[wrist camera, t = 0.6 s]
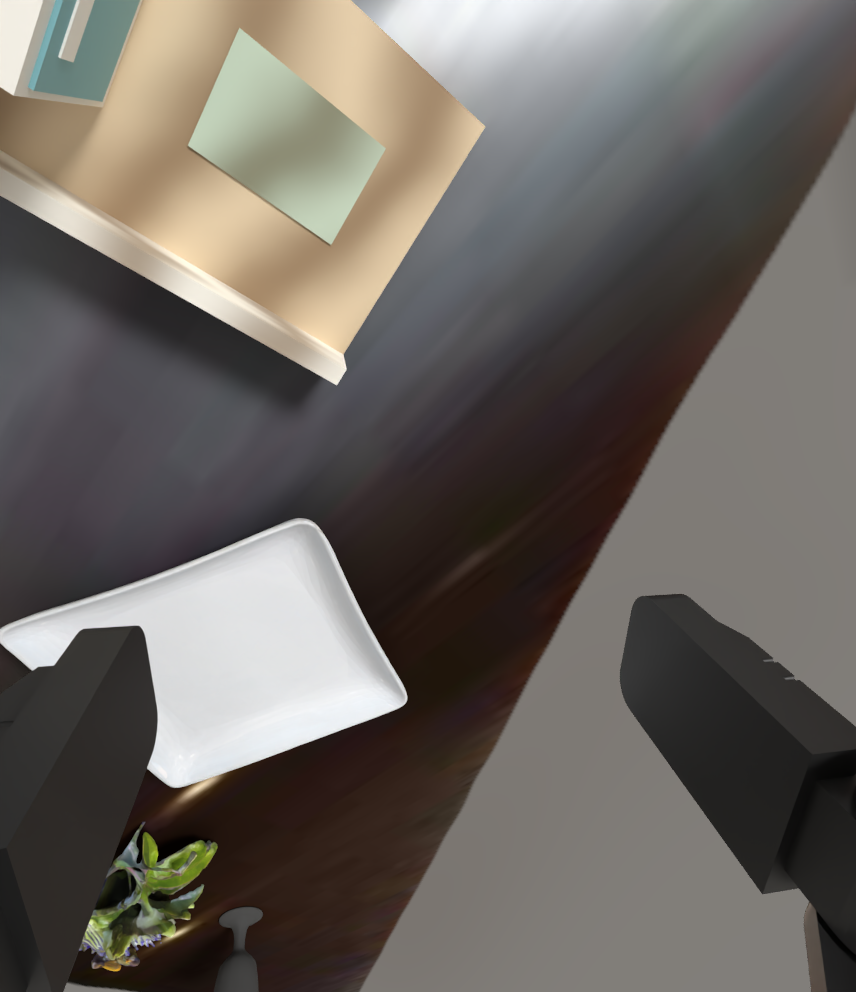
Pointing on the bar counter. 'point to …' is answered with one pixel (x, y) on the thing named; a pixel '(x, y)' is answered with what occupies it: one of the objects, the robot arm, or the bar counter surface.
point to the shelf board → (249, 164)
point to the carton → (63, 47)
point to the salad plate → (237, 651)
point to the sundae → (238, 953)
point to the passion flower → (142, 900)
